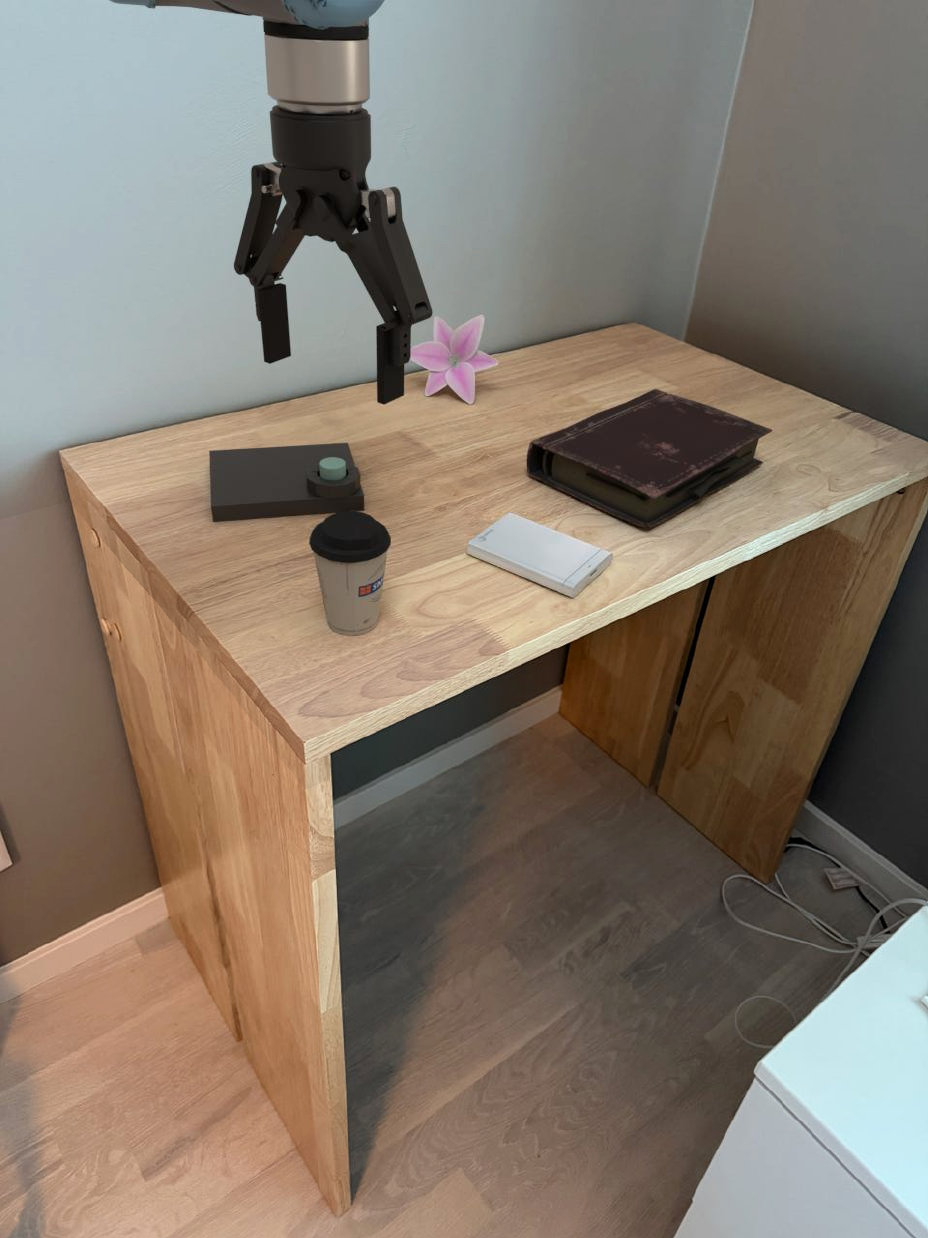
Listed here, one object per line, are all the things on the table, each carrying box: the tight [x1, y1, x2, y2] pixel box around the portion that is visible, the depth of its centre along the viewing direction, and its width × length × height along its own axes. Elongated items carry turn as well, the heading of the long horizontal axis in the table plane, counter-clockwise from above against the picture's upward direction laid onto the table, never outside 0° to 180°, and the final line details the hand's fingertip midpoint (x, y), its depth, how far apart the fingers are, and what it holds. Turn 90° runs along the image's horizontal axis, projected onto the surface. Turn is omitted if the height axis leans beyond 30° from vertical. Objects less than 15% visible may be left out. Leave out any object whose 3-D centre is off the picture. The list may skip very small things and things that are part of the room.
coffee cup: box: [308, 511, 392, 636], centre depth 77 cm, size 7×7×10 cm
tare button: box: [319, 457, 346, 480], centre depth 95 cm, size 3×3×2 cm
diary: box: [525, 388, 773, 528], centre depth 105 cm, size 19×25×5 cm
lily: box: [409, 314, 500, 405], centre depth 122 cm, size 12×12×10 cm
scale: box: [208, 442, 365, 522], centre depth 98 cm, size 16×13×4 cm
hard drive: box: [466, 512, 614, 598], centre depth 89 cm, size 2×8×12 cm
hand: (332, 378), depth 78 cm, fingers open, 13 cm apart
